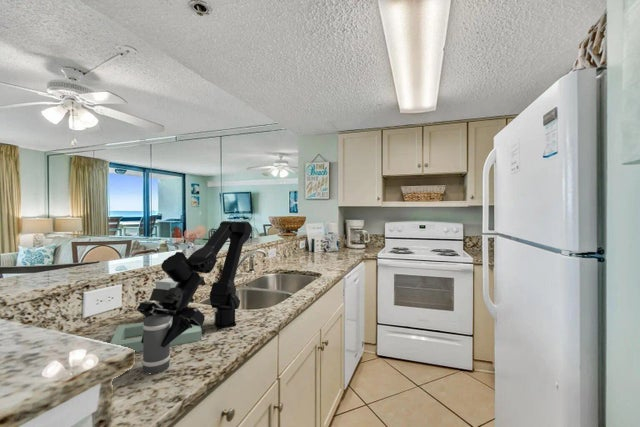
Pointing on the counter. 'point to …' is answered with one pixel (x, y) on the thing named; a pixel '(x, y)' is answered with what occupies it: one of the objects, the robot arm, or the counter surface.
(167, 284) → the skincare box
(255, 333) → the counter surface
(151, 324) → the white-banded grey cylinder
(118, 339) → the pale green recessed tray
